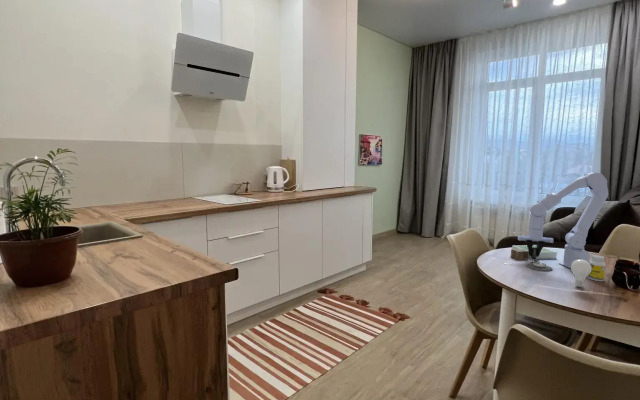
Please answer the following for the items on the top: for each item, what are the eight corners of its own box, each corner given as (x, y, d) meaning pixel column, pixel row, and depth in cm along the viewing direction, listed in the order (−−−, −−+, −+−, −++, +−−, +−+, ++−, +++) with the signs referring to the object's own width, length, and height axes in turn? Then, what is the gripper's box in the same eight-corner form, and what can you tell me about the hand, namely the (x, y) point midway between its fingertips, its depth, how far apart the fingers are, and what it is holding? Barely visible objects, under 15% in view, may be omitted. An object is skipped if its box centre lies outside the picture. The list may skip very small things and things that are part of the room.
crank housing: (548, 265, 160) (548, 264, 160) (555, 272, 151) (555, 271, 151) (501, 261, 166) (501, 260, 166) (505, 267, 157) (505, 266, 157)
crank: (547, 268, 154) (548, 254, 153) (534, 267, 155) (535, 253, 155) (538, 260, 167) (539, 247, 166) (527, 259, 168) (528, 246, 168)
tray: (556, 259, 172) (556, 252, 171) (530, 259, 170) (530, 252, 170) (535, 251, 185) (536, 245, 185) (511, 252, 184) (512, 245, 183)
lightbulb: (567, 287, 132) (570, 259, 131) (570, 283, 137) (572, 256, 136) (588, 291, 128) (591, 263, 127) (590, 287, 133) (593, 259, 132)
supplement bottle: (584, 277, 144) (586, 255, 142) (592, 276, 146) (594, 254, 145) (599, 282, 139) (601, 258, 138) (606, 280, 141) (609, 257, 140)
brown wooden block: (528, 251, 169) (517, 251, 168) (527, 260, 170) (517, 260, 169) (521, 248, 174) (511, 249, 173) (521, 257, 174) (510, 257, 173)
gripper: (551, 228, 166) (548, 255, 167) (517, 225, 171) (515, 252, 172) (555, 230, 159) (553, 259, 161) (520, 228, 164) (518, 256, 166)
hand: (533, 255), depth 166 cm, fingers closed on crank, 2 cm apart
